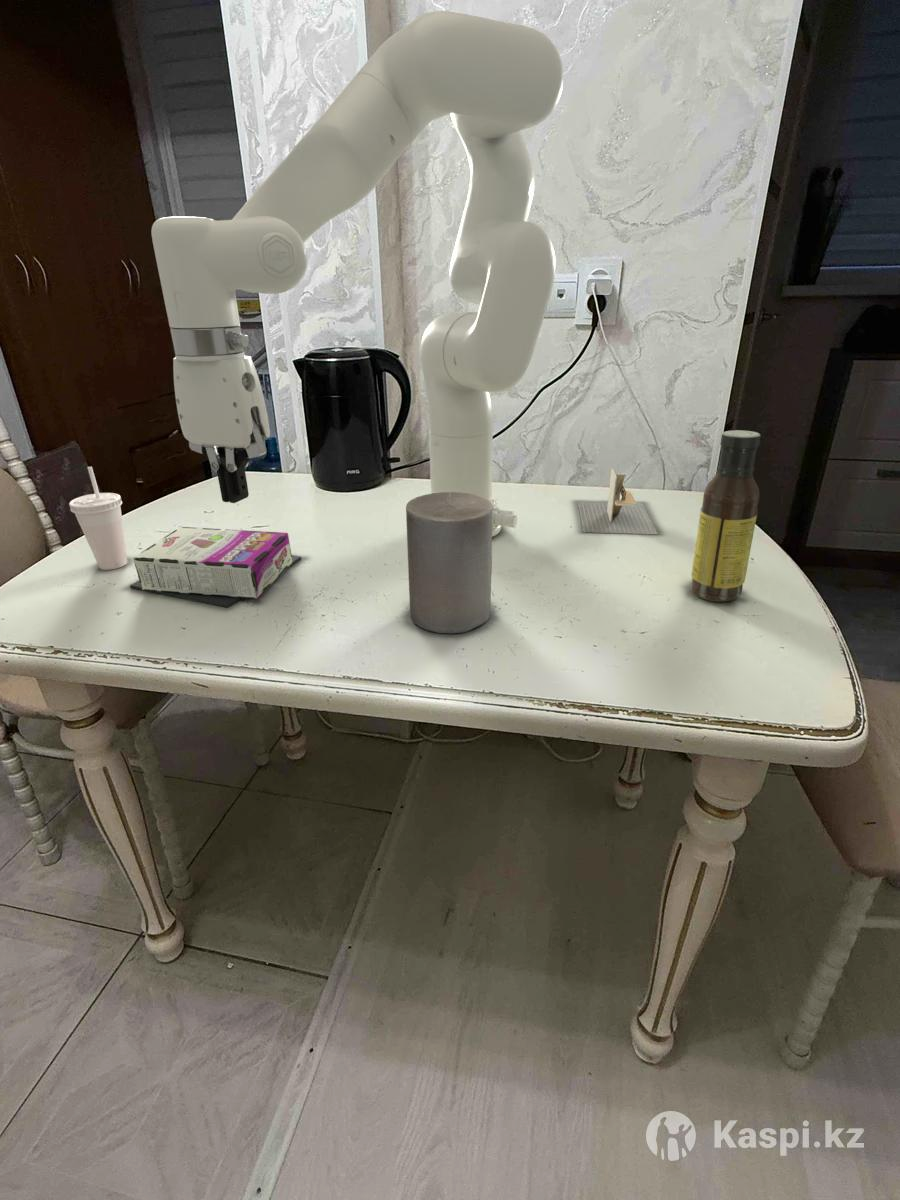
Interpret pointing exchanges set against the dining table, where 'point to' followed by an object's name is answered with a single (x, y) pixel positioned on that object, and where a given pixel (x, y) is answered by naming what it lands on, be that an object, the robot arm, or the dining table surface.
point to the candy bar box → (214, 562)
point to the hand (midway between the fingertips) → (236, 499)
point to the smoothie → (102, 525)
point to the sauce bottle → (727, 520)
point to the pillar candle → (449, 560)
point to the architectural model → (616, 512)
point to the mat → (210, 599)
